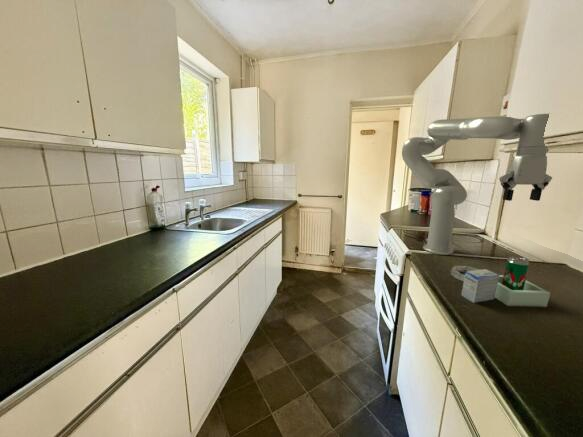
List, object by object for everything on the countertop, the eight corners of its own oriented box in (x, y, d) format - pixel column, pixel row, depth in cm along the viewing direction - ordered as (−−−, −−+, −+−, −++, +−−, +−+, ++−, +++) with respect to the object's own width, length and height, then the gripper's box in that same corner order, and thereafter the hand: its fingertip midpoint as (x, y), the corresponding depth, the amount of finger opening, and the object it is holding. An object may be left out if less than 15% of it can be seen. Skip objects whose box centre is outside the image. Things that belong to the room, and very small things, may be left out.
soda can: (518, 292, 74) (526, 257, 72) (524, 300, 70) (533, 263, 68) (498, 288, 77) (505, 254, 74) (502, 295, 73) (510, 260, 70)
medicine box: (480, 292, 76) (485, 268, 74) (494, 300, 71) (500, 274, 69) (460, 295, 74) (465, 270, 72) (474, 303, 70) (479, 277, 68)
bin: (480, 287, 79) (482, 274, 78) (513, 287, 79) (516, 275, 78) (507, 306, 68) (511, 292, 67) (546, 306, 68) (550, 292, 67)
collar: (445, 270, 92) (446, 265, 91) (473, 270, 91) (474, 266, 91) (464, 283, 81) (465, 278, 81) (496, 284, 81) (497, 279, 80)
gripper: (545, 152, 84) (535, 198, 88) (496, 153, 85) (488, 198, 89) (568, 151, 77) (556, 201, 81) (515, 151, 78) (505, 201, 82)
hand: (520, 200), depth 85 cm, fingers open, 9 cm apart
